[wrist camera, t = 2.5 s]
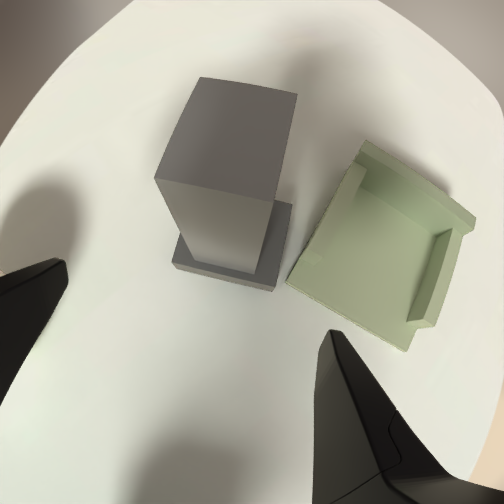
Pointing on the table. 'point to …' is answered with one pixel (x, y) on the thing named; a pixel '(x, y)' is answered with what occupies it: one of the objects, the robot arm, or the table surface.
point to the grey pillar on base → (229, 181)
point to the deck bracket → (384, 248)
